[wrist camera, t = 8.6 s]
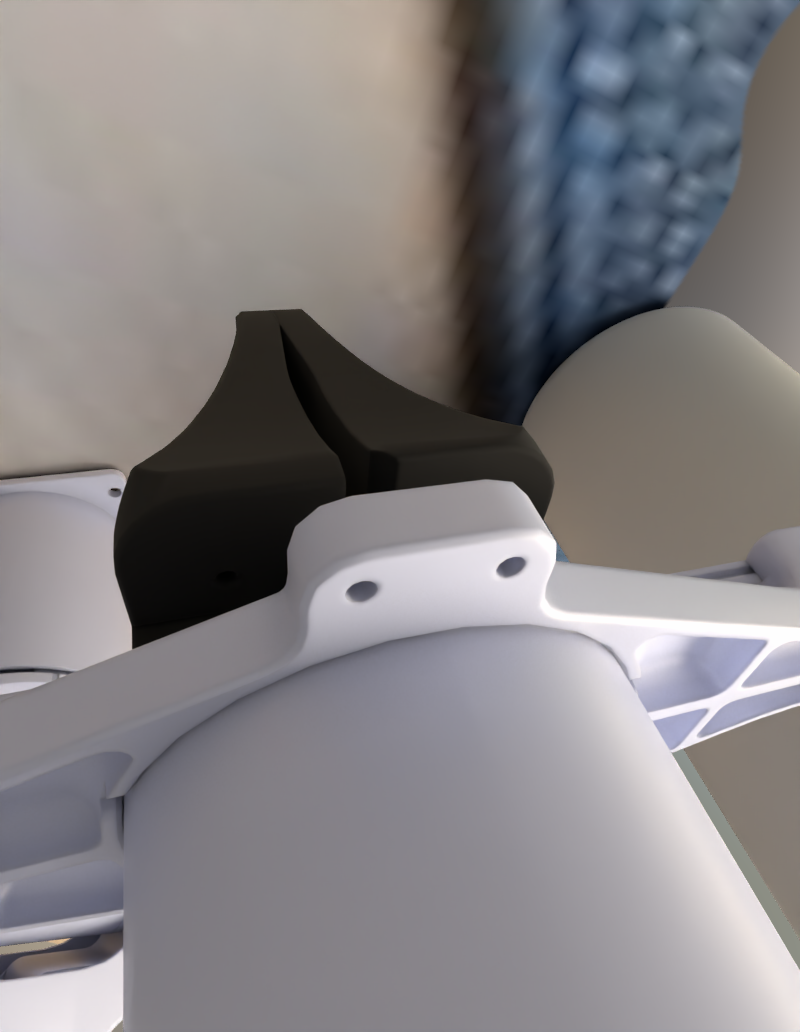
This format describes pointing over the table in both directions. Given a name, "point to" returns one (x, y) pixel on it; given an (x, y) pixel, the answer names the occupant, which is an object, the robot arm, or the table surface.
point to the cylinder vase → (687, 511)
